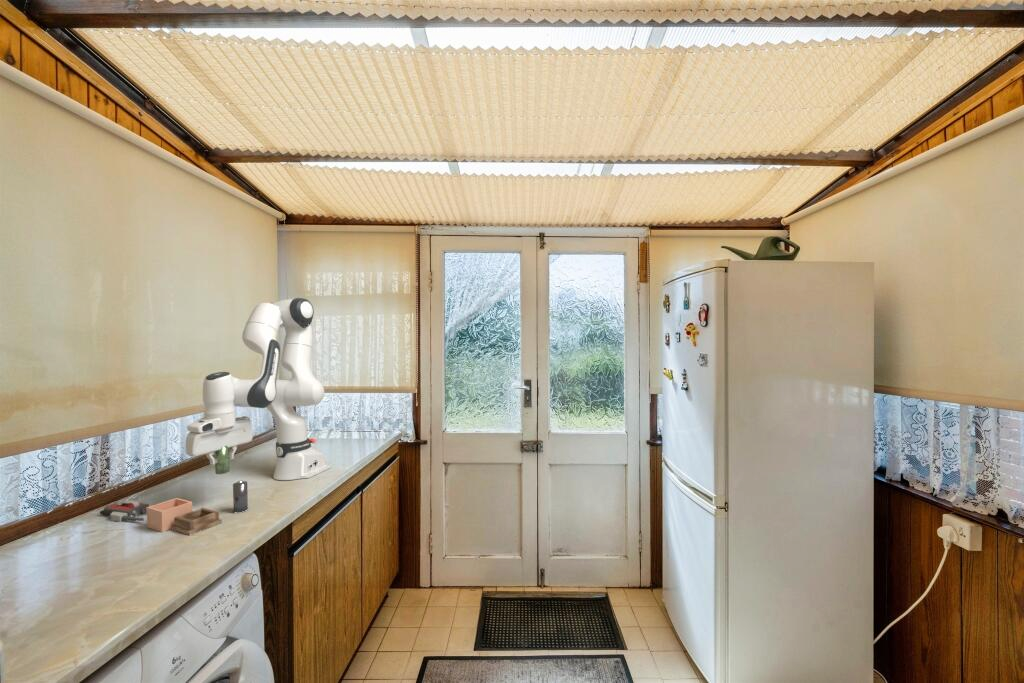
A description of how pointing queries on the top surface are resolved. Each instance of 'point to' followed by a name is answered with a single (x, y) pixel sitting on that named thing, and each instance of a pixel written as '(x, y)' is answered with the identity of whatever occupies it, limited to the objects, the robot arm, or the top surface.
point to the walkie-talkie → (125, 510)
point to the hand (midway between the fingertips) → (222, 461)
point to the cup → (166, 513)
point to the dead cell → (240, 496)
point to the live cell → (222, 460)
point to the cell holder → (196, 521)
